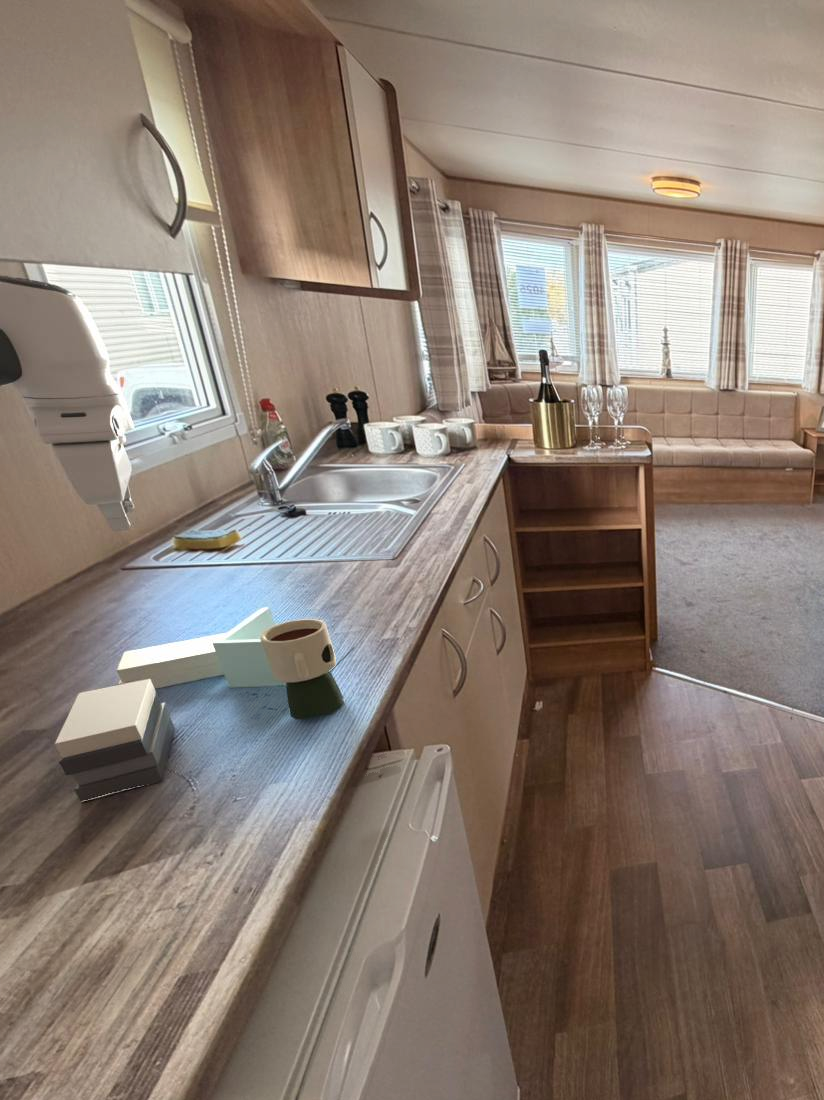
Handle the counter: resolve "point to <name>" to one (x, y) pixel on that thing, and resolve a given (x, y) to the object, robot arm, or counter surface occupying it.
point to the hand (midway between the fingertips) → (124, 520)
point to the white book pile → (171, 663)
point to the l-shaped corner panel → (246, 652)
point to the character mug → (304, 666)
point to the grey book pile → (125, 759)
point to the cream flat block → (106, 718)
